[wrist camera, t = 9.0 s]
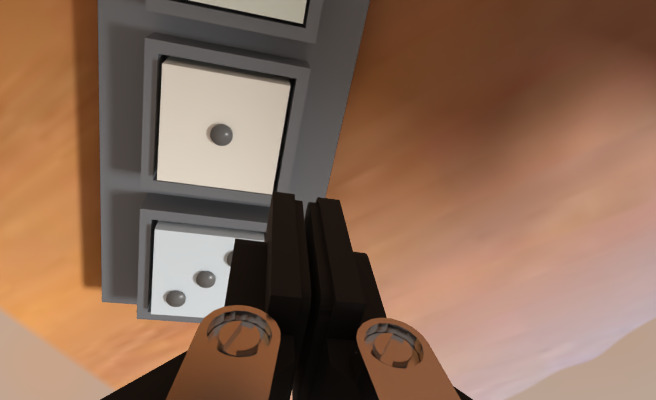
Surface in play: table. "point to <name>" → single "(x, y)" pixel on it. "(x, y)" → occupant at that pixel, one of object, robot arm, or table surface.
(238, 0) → the tile two
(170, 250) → the tile three
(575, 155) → the table surface
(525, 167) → the table surface
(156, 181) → the button board
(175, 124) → the tile one
